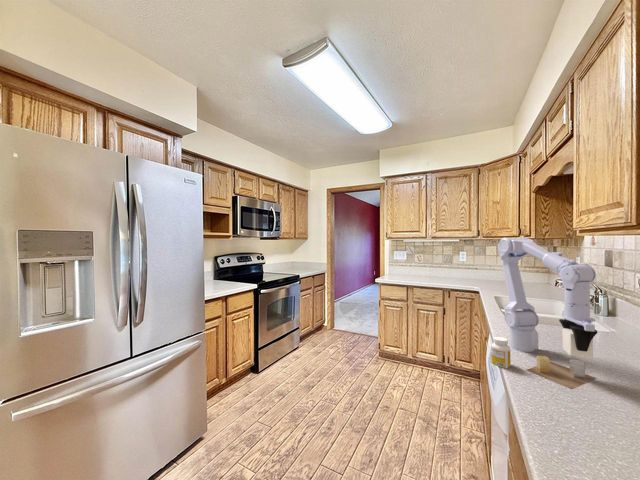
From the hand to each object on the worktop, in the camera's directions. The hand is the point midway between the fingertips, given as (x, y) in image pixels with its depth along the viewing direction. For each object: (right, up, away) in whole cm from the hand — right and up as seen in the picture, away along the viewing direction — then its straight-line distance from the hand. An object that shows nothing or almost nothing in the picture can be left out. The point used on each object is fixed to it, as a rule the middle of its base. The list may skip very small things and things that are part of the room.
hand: (577, 346), depth 83 cm
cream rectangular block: (0, -2, 0) cm, 2 cm away
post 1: (-8, -9, +3) cm, 13 cm away
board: (-4, -10, +2) cm, 11 cm away
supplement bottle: (-18, -11, +9) cm, 22 cm away
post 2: (0, -9, 0) cm, 9 cm away
